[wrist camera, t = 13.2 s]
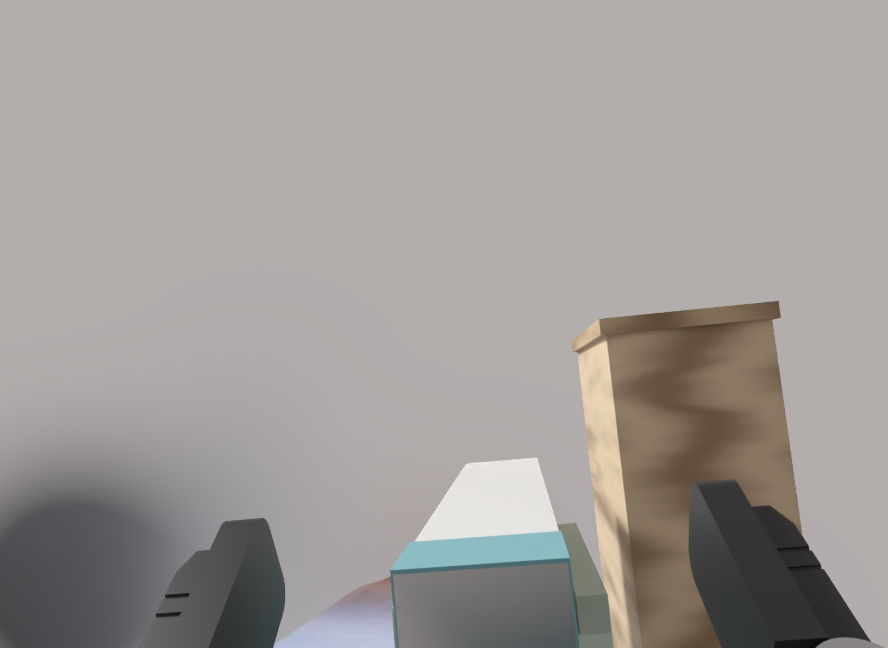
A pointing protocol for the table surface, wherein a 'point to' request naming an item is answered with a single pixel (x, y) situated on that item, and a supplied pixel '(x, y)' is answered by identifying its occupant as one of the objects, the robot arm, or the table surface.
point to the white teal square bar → (487, 567)
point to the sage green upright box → (584, 593)
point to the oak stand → (677, 451)
